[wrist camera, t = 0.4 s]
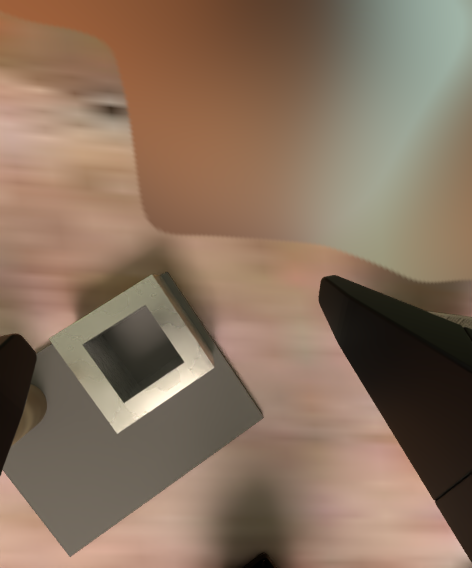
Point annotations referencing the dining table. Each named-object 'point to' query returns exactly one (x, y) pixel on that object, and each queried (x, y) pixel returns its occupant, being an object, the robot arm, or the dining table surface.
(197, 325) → the mat
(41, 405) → the pin
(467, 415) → the robot arm
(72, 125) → the dining table surface
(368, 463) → the dining table surface
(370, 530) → the dining table surface
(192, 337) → the square socket block
